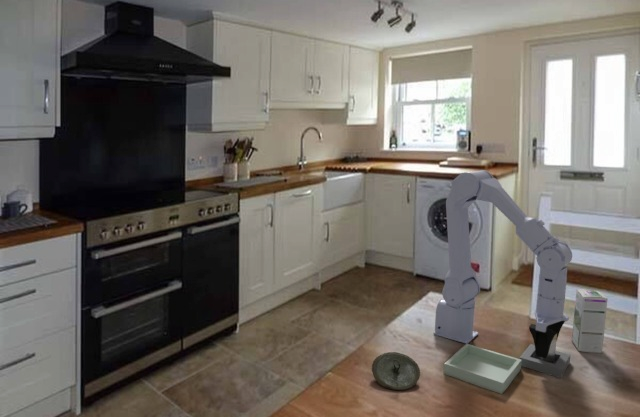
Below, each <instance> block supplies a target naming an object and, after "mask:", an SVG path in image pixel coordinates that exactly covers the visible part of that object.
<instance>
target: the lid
mask: <svg viewBox="0 0 640 417" xmlns="http://www.w3.org/2000/svg"><path fill="white" fill-rule="evenodd" d="M371 372H372V375H373V378H374V379H375V381H376V383H377V384H379V385H380V386H382V387H383V388H385V389H389V390H391V391H406V390H408V389H411V388H412V387H413V386H415V385H416V384H417V383H418V382H419V379H420V376H421V369H420V366H419V365H418V363H417V362H416V360H414V359H413V358H412V357H410V356H408V355H406V354H404V353H400V352H396V351H393V352H392V351H391V352H384V353H382V354H380V355H378V356H377V357H376V358H374V360H373V362H372V365H371Z"/></svg>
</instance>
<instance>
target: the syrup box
mask: <svg viewBox="0 0 640 417" xmlns="http://www.w3.org/2000/svg"><path fill="white" fill-rule="evenodd" d="M575 291H576V292H575V301H574V302H575V303H574V311H573V313H574V314H573V322H572V323H573V324H572V335H571V336H572V337H571V342H572V344H573V345H574V346H575V348H576V350H577V352H583V353H585V352H586V353H593V354H596V353H597V354H603V349H604V348H603V347H604V340H605V328H606V319H607V306H608V297H607V296H605V294H604V293H602V291H600V290H596V289H589V288H588V289H583V288H582V289H581V288H579V289H576V290H575Z"/></svg>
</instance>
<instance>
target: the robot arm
mask: <svg viewBox="0 0 640 417" xmlns="http://www.w3.org/2000/svg"><path fill="white" fill-rule="evenodd" d="M477 200H478V201H482V202H488V203H491V204H492V205H494V207H495V208H497V209H498V211H500V212H501V213H502V214H503V216H505V217H506V218H507V219H508V220H509V221H510V222H511V223H512V224H513V225H514V226H515V235H516V236H517V237H518V238H519V239H520V240H521V241H522V242H523V243H524V245H526V246H527V248H528V249H529V250H530V251H531V252H532V253H533V254H534V255H535V256H536V262H537V265H538V266H539V274H538V285H537V294H536V305H535V306H536V307H535V310H534V316H535V324H534V323H530V325H529V328H528V330H529V332H530V334H531V336H532V340H533V343H534V344H533V345H535V351H536V355H537V356H539V357H543V358H546V357H547V355H548V352H549V349H550V345H551V342H552V340H553V338H554V336H555V335H556V334H557V340H556V342H557V341H558V338H559V336H560V332H561V329H562V327H563V326H564V324H565V323H566V322H568V321H569V318H570V317H569V316H568V315H565V314H564V311H565V299H566V292H567V280H568V276H567V275H568V265H569V264H570V263H571V262H572V258H573V252H572V250H571V248H570V246H569V245H568V244H567V243H566V242H564V241H563V242H562V241H560V239H559V238H558V237H554V235H553V234H552V233H551V232H550V231H549V230H548V229H547V228H546V227H545V224H546V223H545V222H544V221H543V220H542V219H538V218H536V217H529V216H527V214H526V213H525V212H524V211H523V210H522V208H520V206H519V205H518V204H517V203H516V201H515V200H513V198H512V197H511V196H510V195H509V194H508V192H507V190H505V189H504V188H503V187H502V184H501V183H500V181H499V179H497V178H496V177H494V176H493V174H492V173H491V172H490V171H487V170H484V169H480V170H479V169H478V170H476V171H470V172H468V171H467V172H466V171H465V172H462V173H460V174H459V175H458V176H456V177H455V178H454V179H453V180H452V181H451V188H450V191H449V193H448V196H447V198H446V200H445V209H446V210H445V211H446V227H447V231H446V232H447V241H448V242H447V244H448V246H447V248H448V259H449V260H448V262H449V269H448V271H447V273H446V275H445V277H444V286H443V288H442V292H441V294H442V298H443V299H440V300H439V301H438V303H437V305H436V310H435V318H434V320H435V323H434V331H433V335H434V336H438V337H439V336H440V337H441V338H446V339H449V340H452V341H455V342H459V343H463V344H464V345H466V344H469V343H471V341H472V340H473V339H475V338H476V337H477V336H478V335H479V332H478V331H474V320H475V309H476V308H475V307H476V305H475V304H476V303H475V302H476V301H475V300H476V298H477V297H478V296H479V294H480V292H481V286H480V283H479V280H478V279H477V273H476V270H474V269H473V267H472V260H471V259H472V258H471V239H470V227H469V226H470V225H469V224H470V222H469V221H470V220H469V207H470V206H472V204H474V203H475V201H477ZM549 329H550V330H549Z"/></svg>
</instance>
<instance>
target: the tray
mask: <svg viewBox="0 0 640 417" xmlns="http://www.w3.org/2000/svg"><path fill="white" fill-rule="evenodd" d="M521 362H522V360H521V359H520V358H516V357H514V356H510V355H507V354H503V353H501V352H496V351H493V350H489V349H486V348H483V347H479V346H477V345H473V344H469V343H468V344H464V345H463V346H462V347H461V348H460V349H458V351H456V352H455V354H453V355H452V356H451V357H449V359H448V360H447V361H445V362H444V363H443V364H444V365H443V375H446V376H449V377H452V378H454V379H457V380H461V381H464V382H466V383H468V384H471V385H474V386H478V387H480V388H483V389H486V390H489V391H492V392H495V393H498V394H500V395H503V393H505V391H506V390H507V389H508V387H510V385H511V384H512V382H513V381H514V379H516V377H517V376H518V374H519V373H520V371H522V366H521Z"/></svg>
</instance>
